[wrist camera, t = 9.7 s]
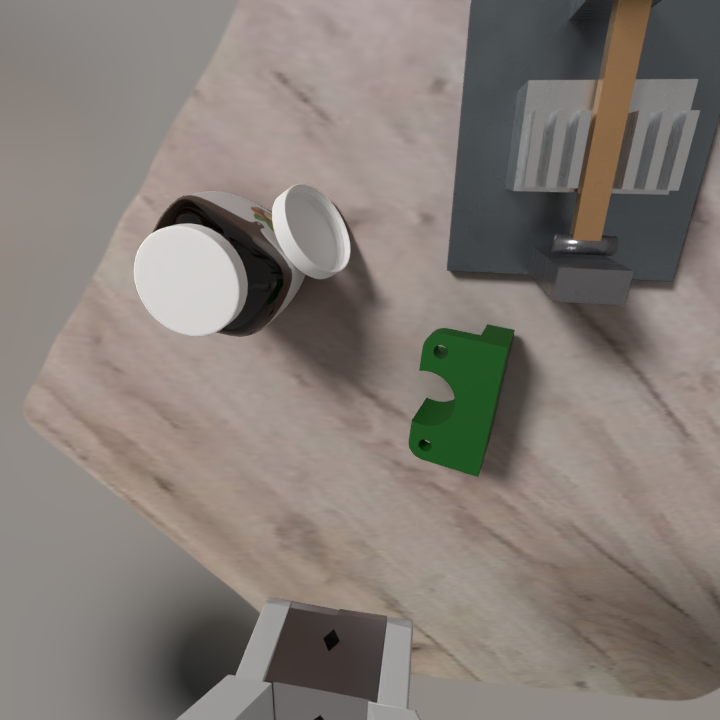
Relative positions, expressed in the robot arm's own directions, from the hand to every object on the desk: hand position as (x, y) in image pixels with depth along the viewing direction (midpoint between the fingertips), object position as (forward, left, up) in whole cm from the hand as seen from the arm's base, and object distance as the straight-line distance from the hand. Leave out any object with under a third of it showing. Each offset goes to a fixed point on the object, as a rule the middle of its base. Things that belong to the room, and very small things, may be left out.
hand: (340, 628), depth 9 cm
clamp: (-4, +8, -31) cm, 32 cm away
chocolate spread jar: (+12, -3, -31) cm, 33 cm away
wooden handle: (-10, -10, -25) cm, 29 cm away
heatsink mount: (-10, -10, -31) cm, 34 cm away
